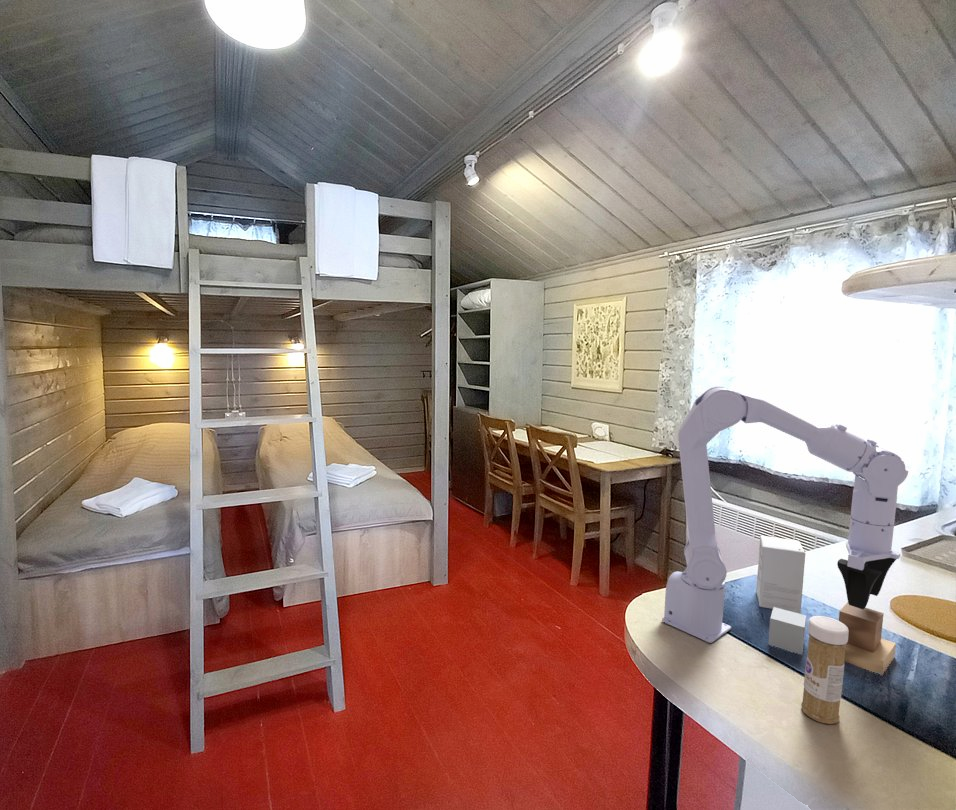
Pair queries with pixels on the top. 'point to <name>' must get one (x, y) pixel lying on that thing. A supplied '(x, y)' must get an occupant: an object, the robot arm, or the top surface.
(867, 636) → the walnut cube
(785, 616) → the light grey cube
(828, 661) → the toothpick jar
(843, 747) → the top surface
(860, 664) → the oak base block
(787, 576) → the supplement box
